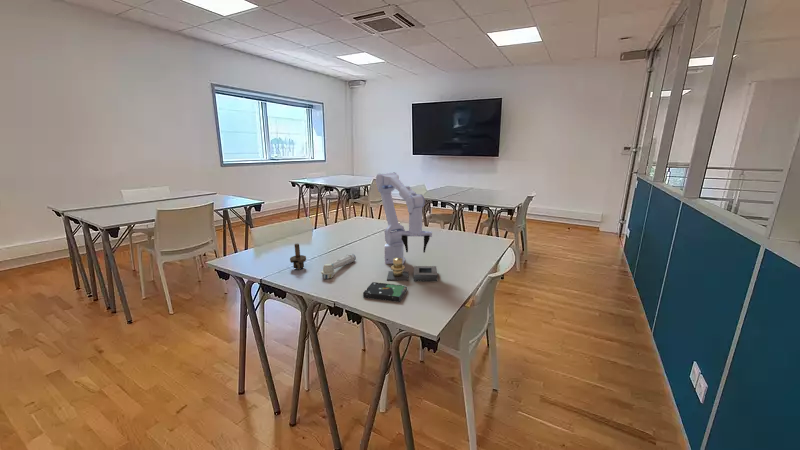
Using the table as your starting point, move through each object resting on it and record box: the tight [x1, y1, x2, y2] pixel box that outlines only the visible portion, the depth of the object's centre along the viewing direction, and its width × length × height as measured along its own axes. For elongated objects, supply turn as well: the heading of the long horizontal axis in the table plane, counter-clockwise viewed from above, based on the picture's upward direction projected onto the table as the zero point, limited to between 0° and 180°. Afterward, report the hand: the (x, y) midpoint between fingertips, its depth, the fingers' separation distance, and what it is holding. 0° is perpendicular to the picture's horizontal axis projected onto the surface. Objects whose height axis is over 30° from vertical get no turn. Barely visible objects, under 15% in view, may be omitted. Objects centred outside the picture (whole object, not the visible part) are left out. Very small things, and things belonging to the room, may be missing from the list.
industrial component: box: [289, 243, 307, 270], centre depth 154 cm, size 9×7×12 cm
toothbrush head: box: [320, 253, 357, 280], centre depth 151 cm, size 5×7×25 cm
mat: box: [386, 270, 409, 282], centre depth 143 cm, size 9×9×1 cm
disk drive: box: [362, 281, 408, 303], centre depth 126 cm, size 10×3×15 cm
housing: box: [413, 265, 438, 283], centre depth 142 cm, size 10×10×3 cm
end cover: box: [390, 258, 405, 277], centre depth 142 cm, size 6×6×8 cm
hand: (415, 251), depth 145 cm, fingers open, 7 cm apart
